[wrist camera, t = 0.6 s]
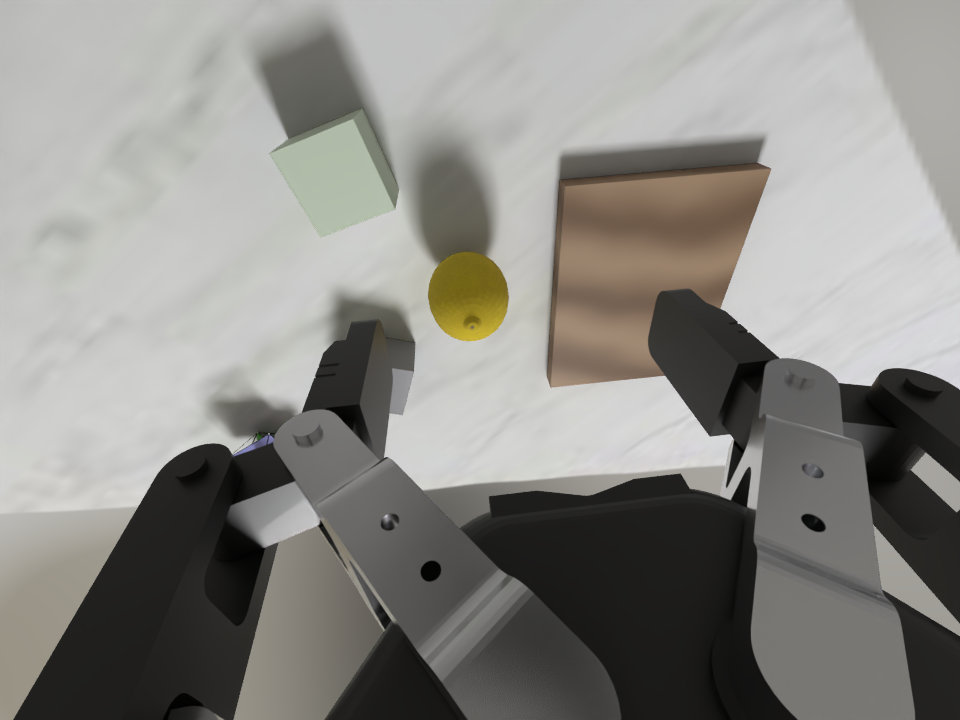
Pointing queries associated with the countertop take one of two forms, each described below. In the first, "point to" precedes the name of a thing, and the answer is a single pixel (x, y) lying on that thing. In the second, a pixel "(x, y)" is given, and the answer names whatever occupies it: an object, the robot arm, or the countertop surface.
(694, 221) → the walnut board
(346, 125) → the sage block
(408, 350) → the gray block
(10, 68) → the countertop surface
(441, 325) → the lemon
